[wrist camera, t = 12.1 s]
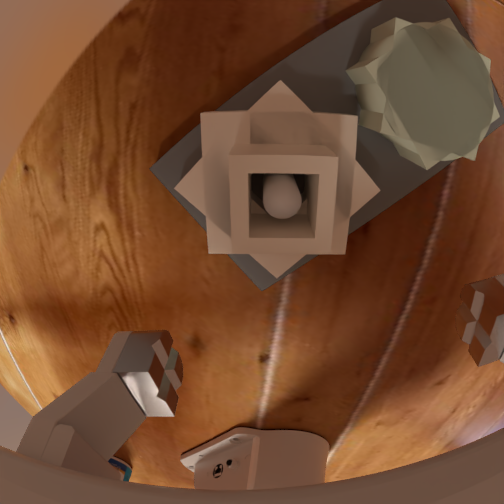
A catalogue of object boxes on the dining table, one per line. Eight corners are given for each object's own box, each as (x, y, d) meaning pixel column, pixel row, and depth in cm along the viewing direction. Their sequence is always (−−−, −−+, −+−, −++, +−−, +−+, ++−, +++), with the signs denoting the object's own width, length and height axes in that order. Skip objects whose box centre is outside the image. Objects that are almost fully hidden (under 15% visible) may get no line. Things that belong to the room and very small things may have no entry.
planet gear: (361, 267, 23) (381, 308, 18) (188, 266, 23) (172, 308, 19) (379, 89, 17) (414, 90, 13) (174, 85, 17) (147, 83, 13)
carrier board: (262, 280, 25) (261, 326, 21) (155, 163, 21) (126, 186, 16) (496, 117, 18) (541, 129, 13) (420, -17, 14) (458, -37, 9)
